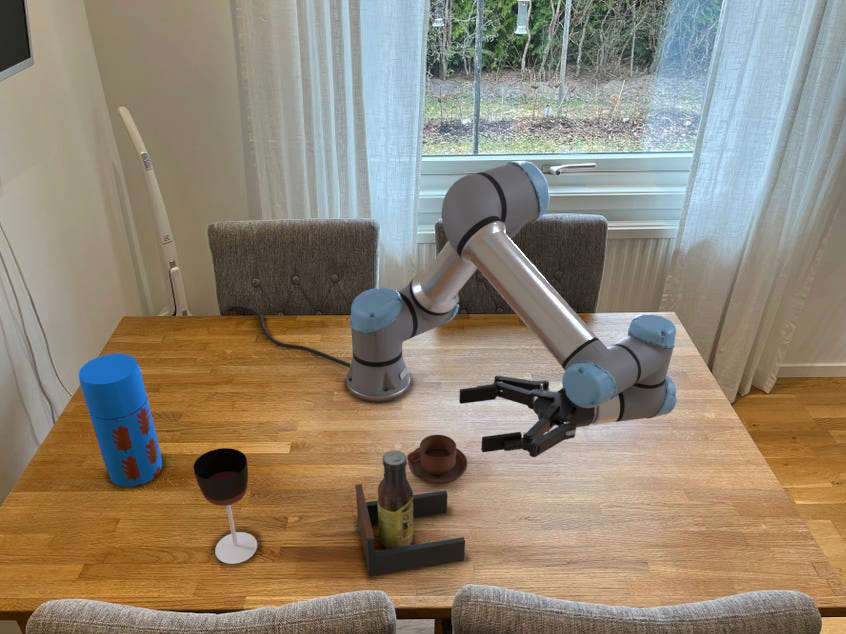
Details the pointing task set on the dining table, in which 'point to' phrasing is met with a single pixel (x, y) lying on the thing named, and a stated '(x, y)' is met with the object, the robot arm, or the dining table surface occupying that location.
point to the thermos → (121, 418)
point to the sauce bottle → (395, 503)
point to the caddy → (406, 555)
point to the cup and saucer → (437, 460)
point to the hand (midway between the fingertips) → (470, 419)
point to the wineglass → (226, 497)
